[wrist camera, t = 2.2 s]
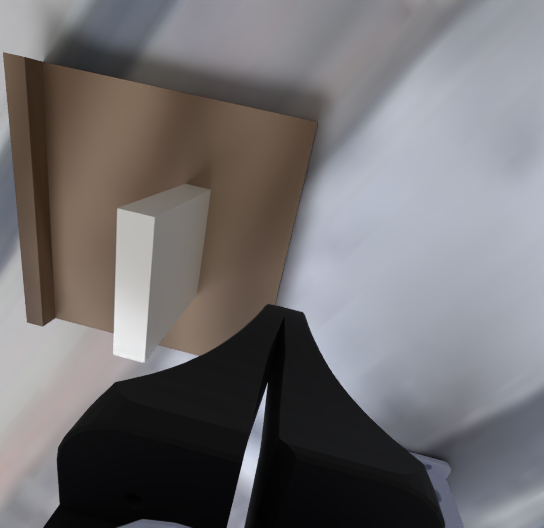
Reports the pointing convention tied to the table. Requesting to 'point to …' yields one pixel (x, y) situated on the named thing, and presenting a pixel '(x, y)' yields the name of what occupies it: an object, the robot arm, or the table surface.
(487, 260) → the table surface
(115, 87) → the board
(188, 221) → the tile
